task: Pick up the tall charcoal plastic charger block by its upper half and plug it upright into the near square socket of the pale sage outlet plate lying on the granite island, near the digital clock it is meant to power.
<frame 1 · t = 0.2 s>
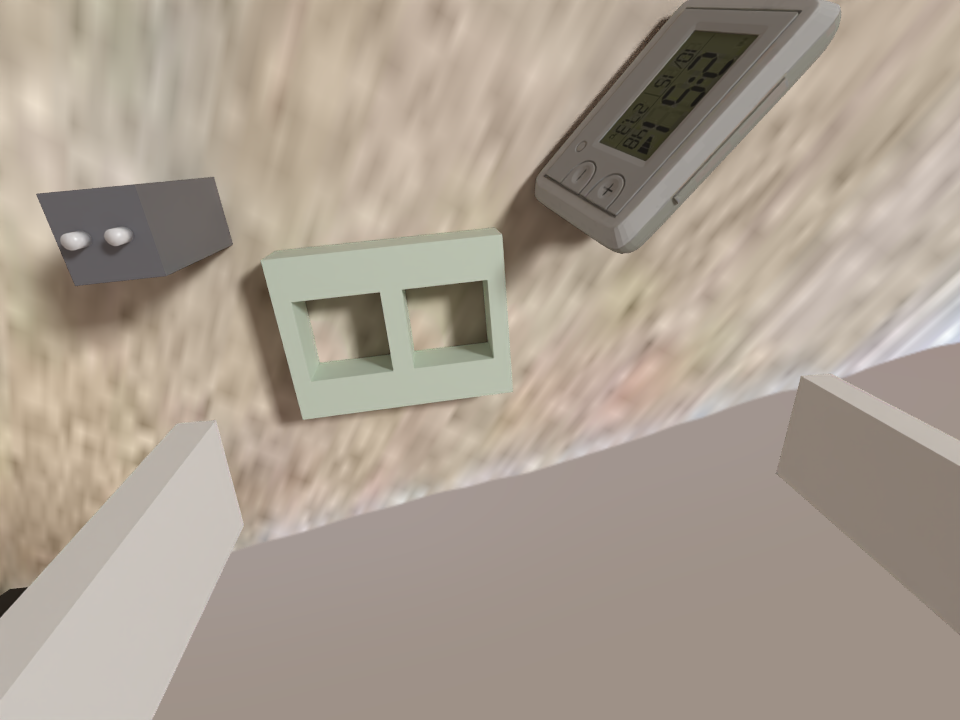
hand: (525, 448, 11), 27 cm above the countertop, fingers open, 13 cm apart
charger: (189, 215, 33), on the countertop
digital clock: (625, 125, 35), on the countertop
outlet plate: (399, 316, 38), on the countertop
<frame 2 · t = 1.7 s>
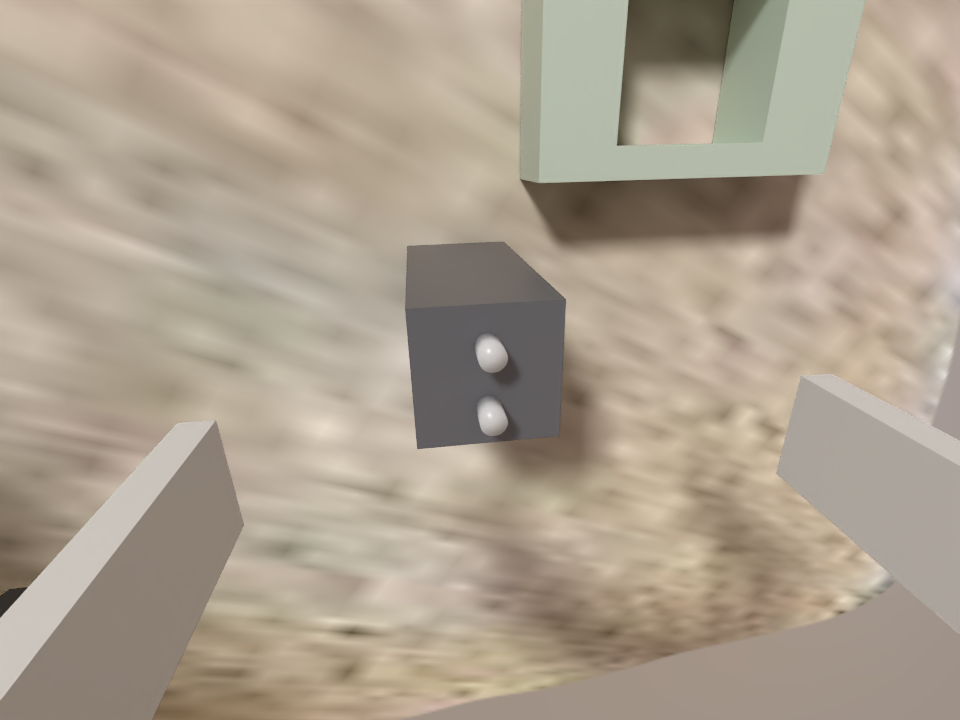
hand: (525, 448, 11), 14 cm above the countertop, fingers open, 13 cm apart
charger: (457, 290, 23), on the countertop
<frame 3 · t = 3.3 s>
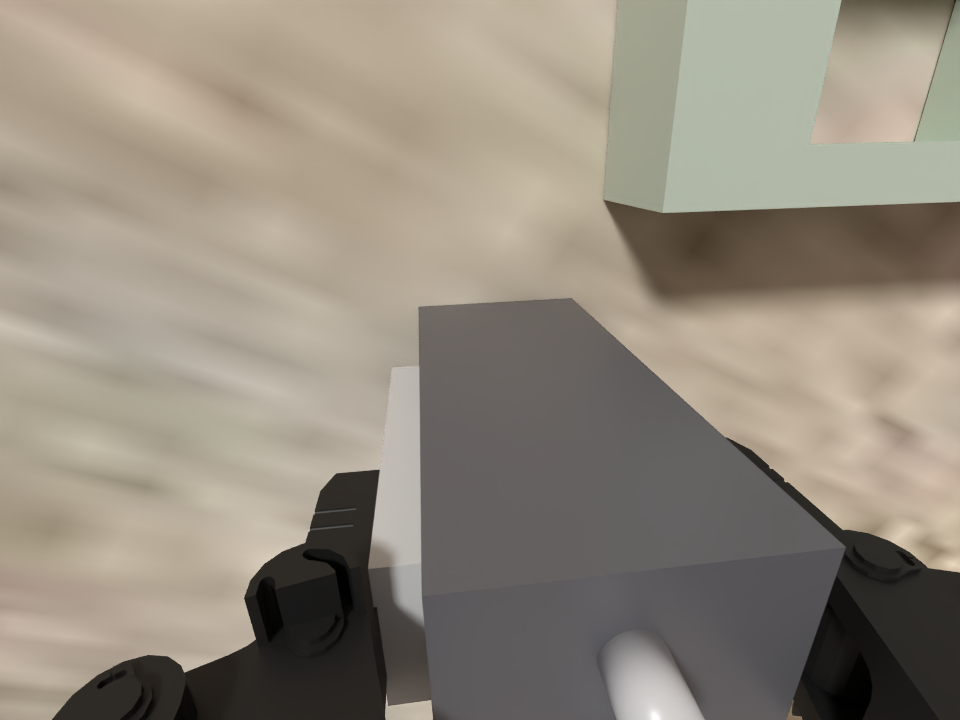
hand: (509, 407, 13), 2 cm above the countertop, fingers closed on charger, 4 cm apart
charger: (497, 373, 15), on the countertop, touching gripper
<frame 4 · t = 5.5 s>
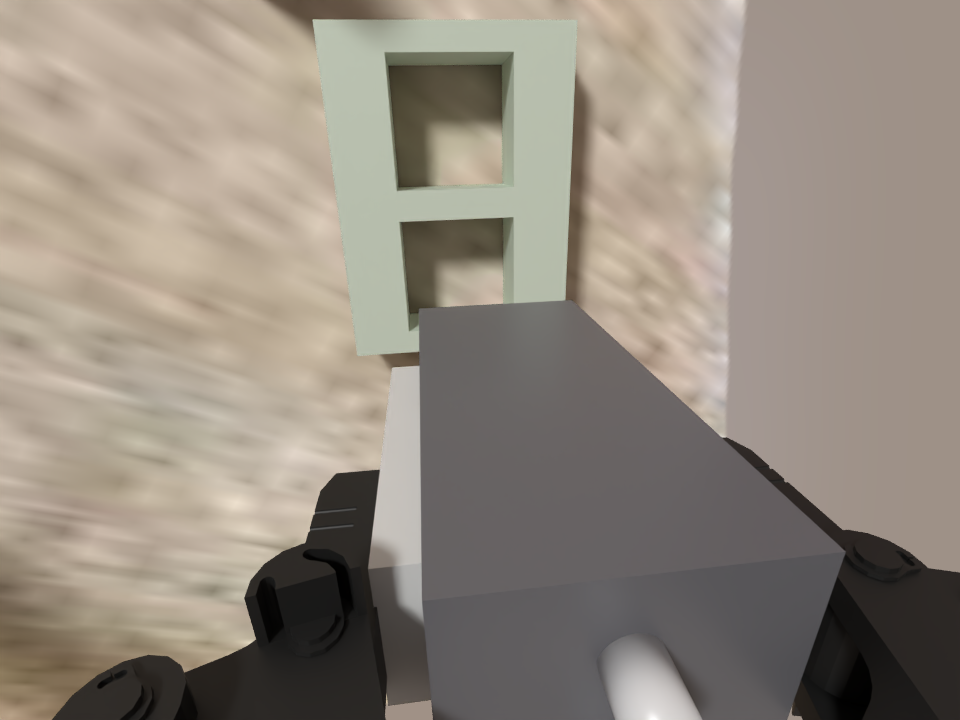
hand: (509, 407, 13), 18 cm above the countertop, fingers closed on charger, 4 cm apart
charger: (497, 374, 15), point 16 cm above the countertop, touching gripper
outlet plate: (451, 199, 28), on the countertop
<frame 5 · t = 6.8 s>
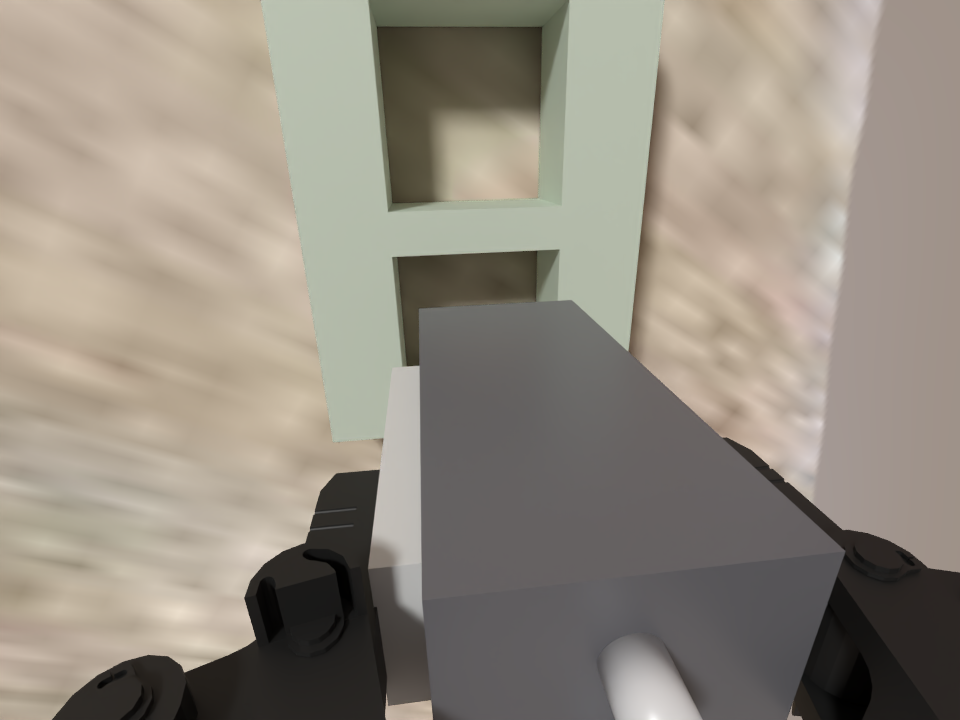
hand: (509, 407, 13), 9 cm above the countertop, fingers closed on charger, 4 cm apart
charger: (497, 374, 15), point 7 cm above the countertop, touching gripper
outlet plate: (467, 219, 20), on the countertop
when the fingers open (5 cm above the countertop, at t = 7.9 s): charger drops 3 cm, resting in outlet plate.
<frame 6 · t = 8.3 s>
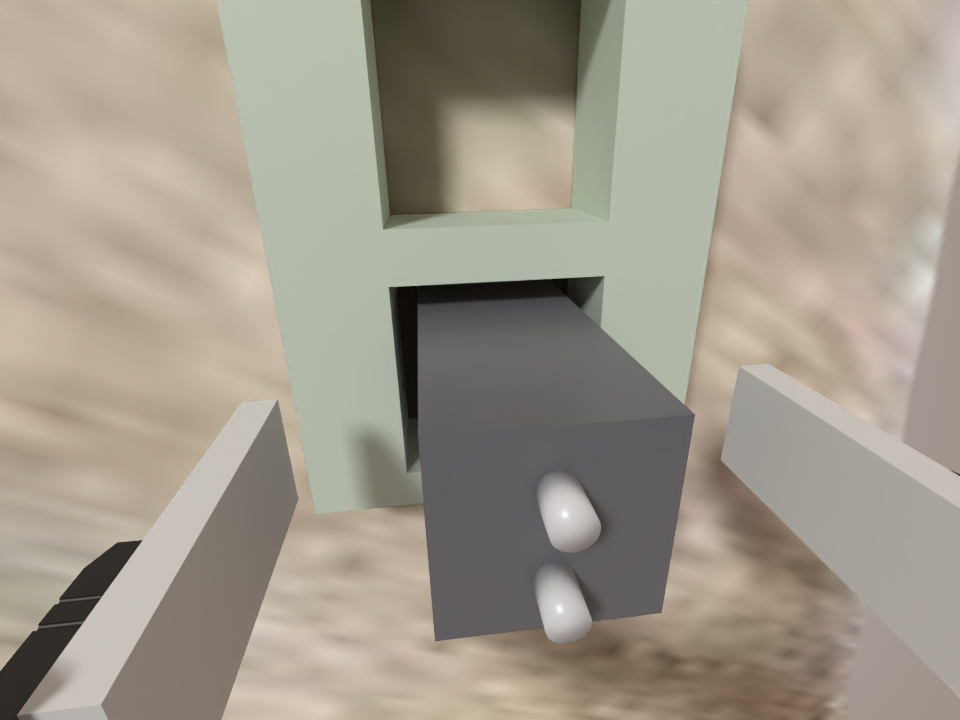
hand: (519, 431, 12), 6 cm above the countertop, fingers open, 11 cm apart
charger: (483, 340, 18), resting in outlet plate
outlet plate: (482, 235, 16), on the countertop
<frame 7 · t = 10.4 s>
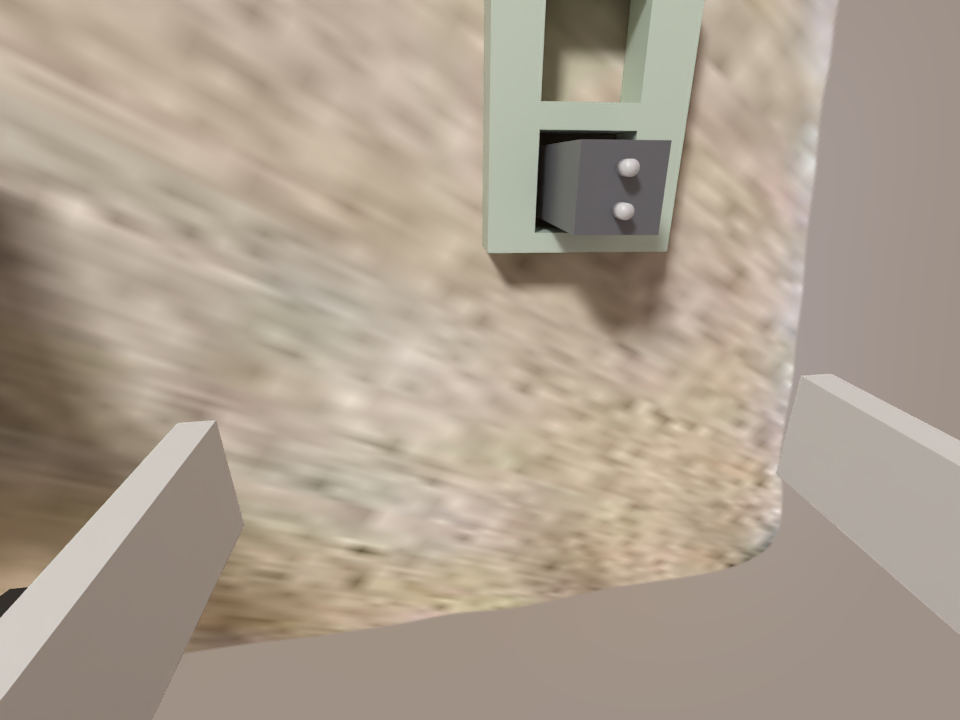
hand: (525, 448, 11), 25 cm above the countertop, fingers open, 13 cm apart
charger: (569, 182, 33), resting in outlet plate
outlet plate: (574, 120, 32), on the countertop
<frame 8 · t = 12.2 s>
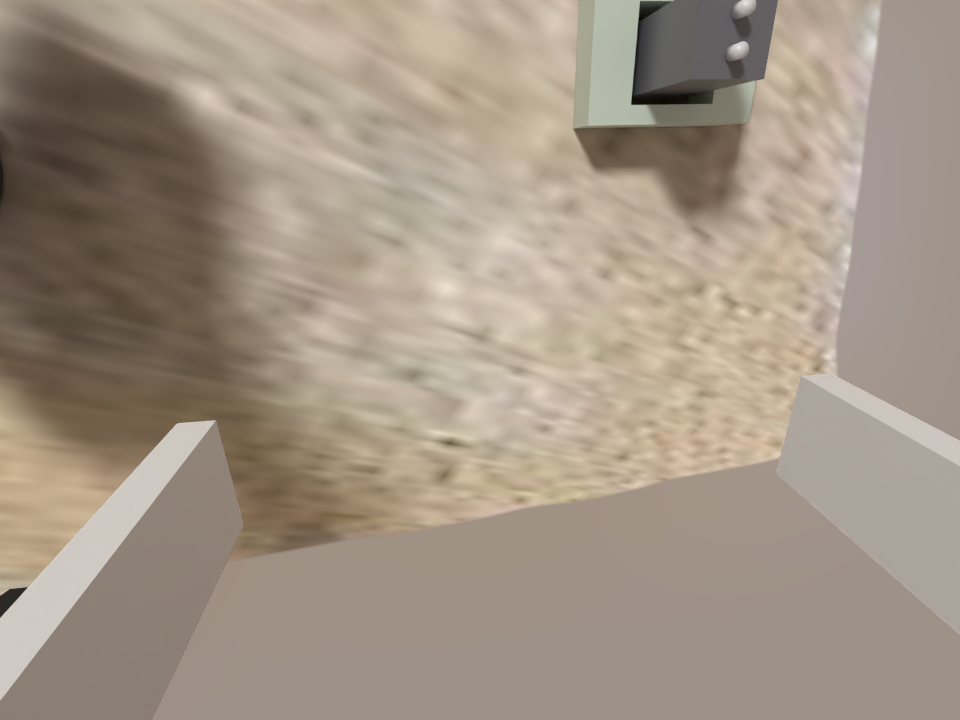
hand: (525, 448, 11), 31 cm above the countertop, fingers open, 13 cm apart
charger: (653, 64, 36), resting in outlet plate
outlet plate: (660, 3, 35), on the countertop
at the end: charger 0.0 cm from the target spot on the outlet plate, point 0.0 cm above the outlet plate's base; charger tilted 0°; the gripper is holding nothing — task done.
